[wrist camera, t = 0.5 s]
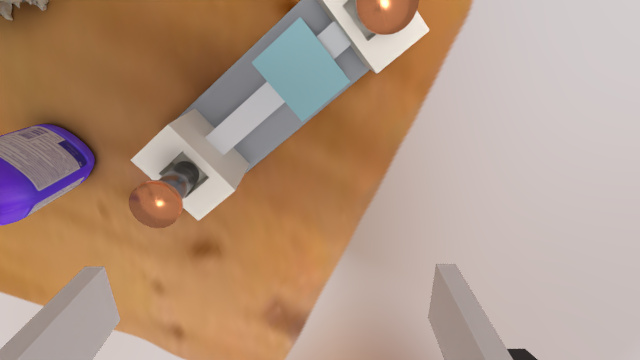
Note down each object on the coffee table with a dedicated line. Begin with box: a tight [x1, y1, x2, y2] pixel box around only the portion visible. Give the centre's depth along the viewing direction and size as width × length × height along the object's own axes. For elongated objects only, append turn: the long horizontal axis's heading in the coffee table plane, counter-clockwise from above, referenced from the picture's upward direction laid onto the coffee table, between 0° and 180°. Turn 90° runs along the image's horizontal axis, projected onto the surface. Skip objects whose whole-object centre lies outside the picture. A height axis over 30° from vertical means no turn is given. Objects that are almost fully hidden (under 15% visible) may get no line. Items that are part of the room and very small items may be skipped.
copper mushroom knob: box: [129, 161, 199, 228], centre depth 28 cm, size 4×4×7 cm
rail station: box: [131, 0, 430, 221], centre depth 32 cm, size 9×26×8 cm, turn 130°
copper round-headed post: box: [356, 0, 419, 35], centre depth 23 cm, size 4×4×7 cm
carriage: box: [251, 17, 350, 122], centre depth 30 cm, size 6×5×7 cm
